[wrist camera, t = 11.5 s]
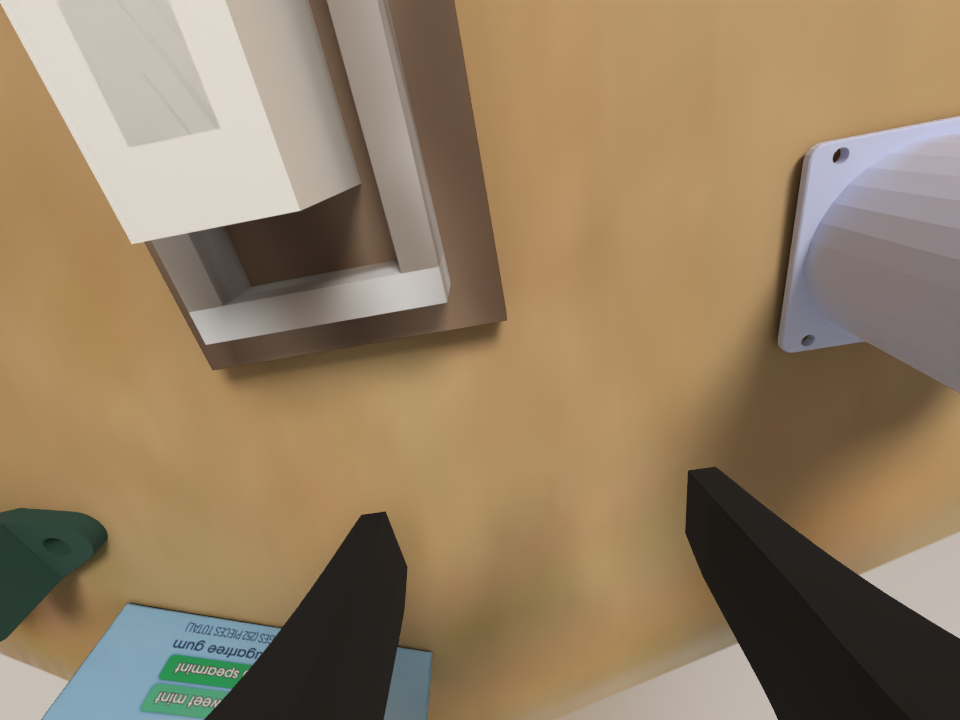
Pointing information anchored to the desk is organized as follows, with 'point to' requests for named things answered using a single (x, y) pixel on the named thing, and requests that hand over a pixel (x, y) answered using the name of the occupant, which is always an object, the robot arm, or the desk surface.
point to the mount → (40, 557)
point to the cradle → (359, 209)
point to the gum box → (195, 669)
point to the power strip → (193, 106)
